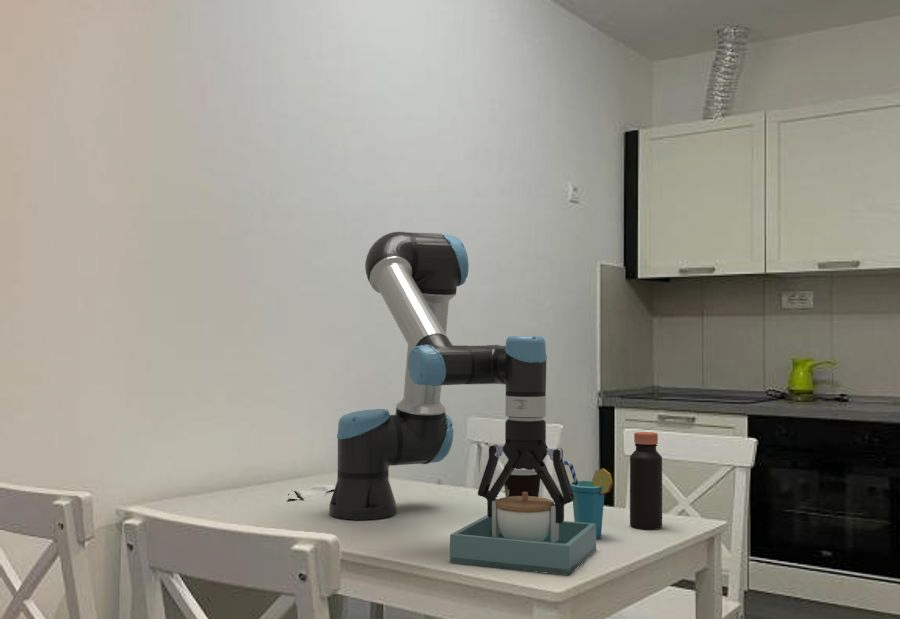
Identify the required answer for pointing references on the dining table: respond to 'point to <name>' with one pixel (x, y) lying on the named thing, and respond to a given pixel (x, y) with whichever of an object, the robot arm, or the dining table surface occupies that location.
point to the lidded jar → (524, 517)
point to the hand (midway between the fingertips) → (525, 537)
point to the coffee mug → (522, 483)
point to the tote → (523, 548)
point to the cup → (590, 497)
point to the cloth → (309, 494)
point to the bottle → (646, 483)
